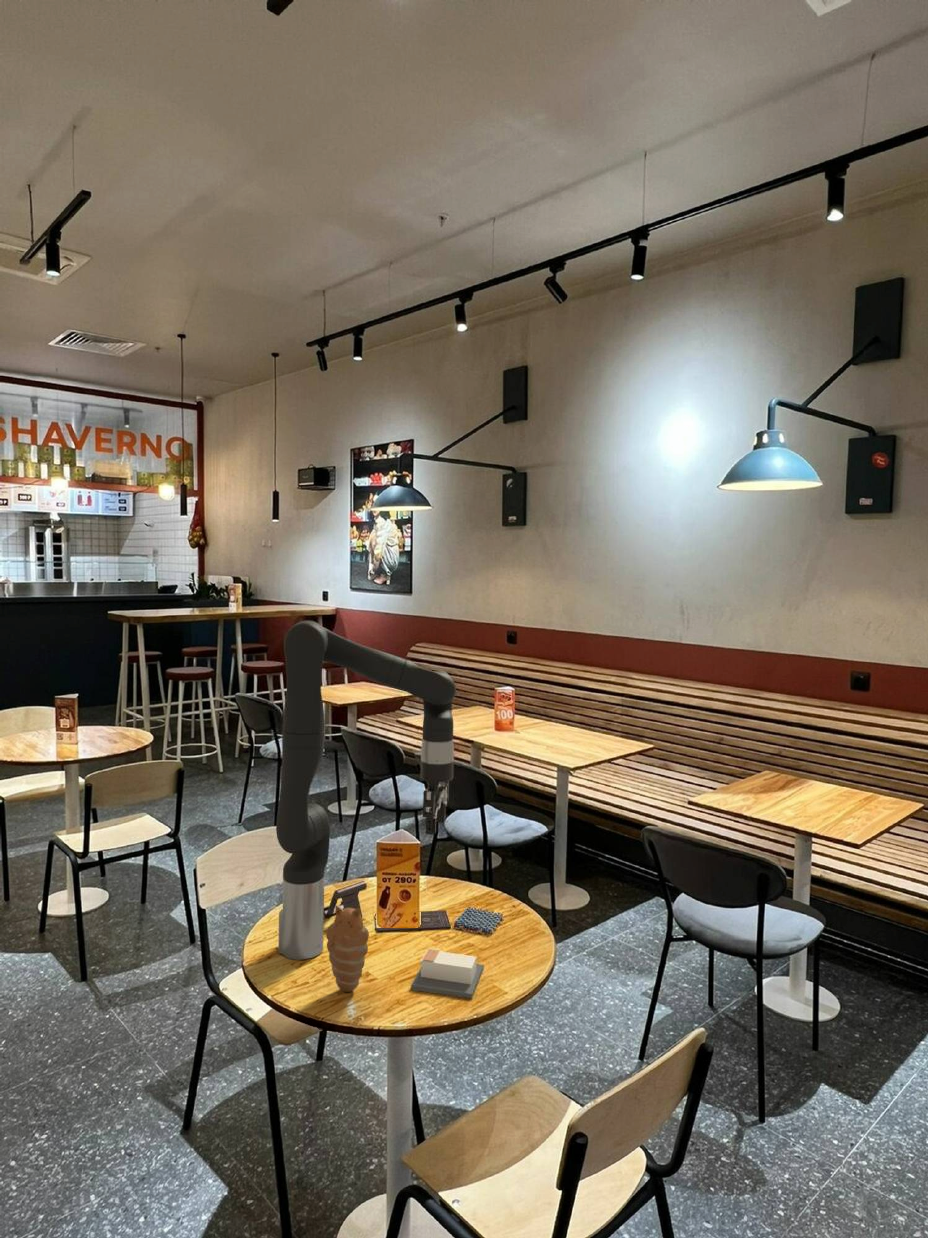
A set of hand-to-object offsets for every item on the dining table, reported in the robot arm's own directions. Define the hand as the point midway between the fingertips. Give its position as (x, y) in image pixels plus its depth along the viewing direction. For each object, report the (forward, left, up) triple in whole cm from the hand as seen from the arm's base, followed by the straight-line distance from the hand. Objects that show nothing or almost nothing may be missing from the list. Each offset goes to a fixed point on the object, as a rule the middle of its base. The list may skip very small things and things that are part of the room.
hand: (435, 827), depth 177 cm
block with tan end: (+7, -13, -27) cm, 31 cm away
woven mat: (+8, +14, -29) cm, 33 cm away
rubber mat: (+7, -13, -28) cm, 32 cm away
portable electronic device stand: (-25, +9, -28) cm, 39 cm away
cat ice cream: (-12, -23, -28) cm, 38 cm away
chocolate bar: (-8, +10, -29) cm, 32 cm away
